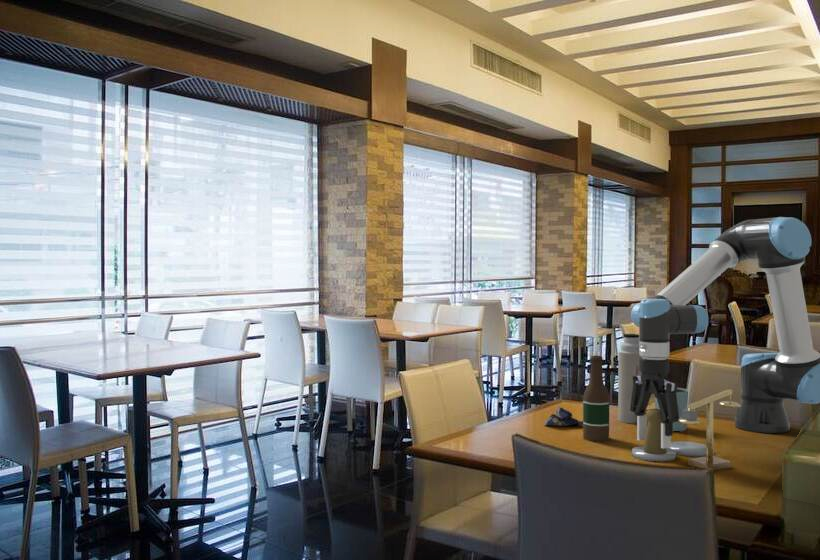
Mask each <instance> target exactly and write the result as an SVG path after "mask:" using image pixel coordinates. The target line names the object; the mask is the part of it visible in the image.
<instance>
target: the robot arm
mask: <svg viewBox="0 0 820 560" xmlns="http://www.w3.org/2000/svg"><path fill="white" fill-rule="evenodd" d="M811 247H812V235H811V233H810V229H809V228H808V227H807V225H806V224H805V223H804V222H803V221H801V220H800V219H798V218H796V217H786V216H778V217H767V218H757V219H756V218H751V219H746V220H743V221H741V222H738V223H737V224H735V225H733V226H732V227H730V228H728V229H727V230H725V231H724V232H723V233H721V234H720V235H719V236H717V237H716V238H715V239H714V240H713V241H711V242H710V244H709V245H708V249H707V251H705V252H704V253H703V254H702V255H701V256H700V257H698V259H696V260H695V261H694V262H693V263H692V264H690V265H689V266H688V267H687V268H686V269H685V270H684V271H682V272H681V273H680V274H678V276H677V277H675V278H674V279H673V280H672V281H671V282H670V283H668V284H667V285H666V286H665V287H664V288H663V289H662V290H661V291H660V292H658V293H656V295H655V296H654V297H652V298H643V299H641V300H640V302H638V303H635V305H634V306H633V307H632V309H631V312H630V318H631V321H632V323H633V324H634V326H636V327H637V328H639V333H638V335H639V355H640V356H642V358H640V359H639V371H640V372H642V374H641V376H633V391H632V398H631V406H630V411H631V412H634V413H635V415H636V423H635V426H636V441H644V440H645V435H646V430H647V425H648V420H647V417H646V413H647V411H646V410H647V408H648V405H649V402H650V400H651V398H652V397H651V396H652V395H653V397H654V396H655V397H656V398H657V401H658V404H659V408H660V411H661V414H662V418H663V422H662V423H661V448H663V449H664V448H671V442H672V436H673V434H674V432H673V423H674V422H678V421H679V412H678V404H677V395H676V389H677V388H678V384H677V382H671V381H669V379H668V377H667V376H668V374H669V373H670V359H668V358H669V357H670V355H671V354H670V350H671V349H670V341H671V340H670V338H671V337H670V336H671V335H681V334H682V335H683V334H684V335H685V334H686V335H687V334H691V335H694V334H699V333H703V332H704V331H705V330H706V329H707V328H708V326H709V314H708V312H707V309H705V308H704V307H703V306H701V305H694V304H689V302H691V301H692V300H693V299H694V298H695V297H697V295H699V294H700V293H701V292H702V291H703V290H705V289H706V288H707V287H708V286H709V285H710V284H712V282H714V281H715V280H716V279H718V277H719V276H721V274H723V273H724V272H725V271H726V270H727V269H728V268H729V269H732V268H735V267H736V266H737V265H738V264H740V263H741V262H744V261H747V260H757V264H758V268H759V270H761V271H762V272H764V273H765V274H766V275H765V276H766V281H767V286H768V292H769V298H770V304H771V310H772V314H773V320H774V321H773V322H774V325H775V326H774V327H775V332H776V338H777V343H778V349H779V351H778V352H761V353H759V352H758V353H755V352H754V353H746V354H744V355H743V356H742V358H741V366H740V383H741V384H740V389H741V390H740V395H741V396H740V403H741V407H737V408H738V409H737V412H736V415H735V417H734V426H735V428H738V429H741V430H745V431H749V432H755V433H765V434H766V433H767V434H780V433H782V434H783V433H787V432H789V431H790V430H791V427H790V420H789V419H788V414H787V412H786V409H785V405H784V399H785V400H789V401H794V402H798V403H801V404H810V405H818V404H820V352H819V351H818V350H816V349H814V346H813V340H812V333H811V328H810V321H809V316H808V311H807V310H808V309H807V304H806V298H805V293H804V292H805V291H804V287H803V280H802V279H803V278H802V273H801V267H802V266H803V264H805V257H806V256H807V255H808V254H809V252H810V250H811V249H810V248H811ZM687 304H688V305H687ZM661 393H662V394H661ZM635 406H636V407H635ZM667 417H668V418H667Z"/></svg>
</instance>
